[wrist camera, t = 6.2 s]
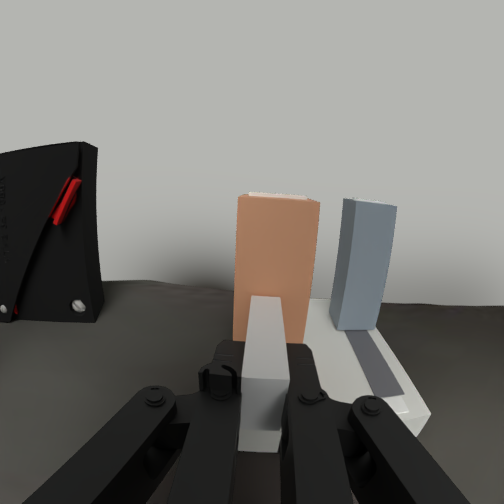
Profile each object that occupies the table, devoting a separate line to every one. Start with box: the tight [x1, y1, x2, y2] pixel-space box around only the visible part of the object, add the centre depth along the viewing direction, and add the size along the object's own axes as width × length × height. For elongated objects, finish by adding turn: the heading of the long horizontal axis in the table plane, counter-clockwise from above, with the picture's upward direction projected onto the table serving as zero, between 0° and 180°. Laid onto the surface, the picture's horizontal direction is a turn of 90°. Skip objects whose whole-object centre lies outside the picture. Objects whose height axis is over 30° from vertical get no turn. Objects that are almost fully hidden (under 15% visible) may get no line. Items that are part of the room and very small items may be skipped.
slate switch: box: [329, 198, 397, 330], centre depth 25 cm, size 4×4×12 cm
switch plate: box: [238, 298, 431, 453], centre depth 23 cm, size 20×14×3 cm
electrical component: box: [0, 142, 104, 323], centre depth 25 cm, size 18×10×20 cm, turn 107°
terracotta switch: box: [233, 192, 320, 343], centre depth 16 cm, size 4×4×12 cm
